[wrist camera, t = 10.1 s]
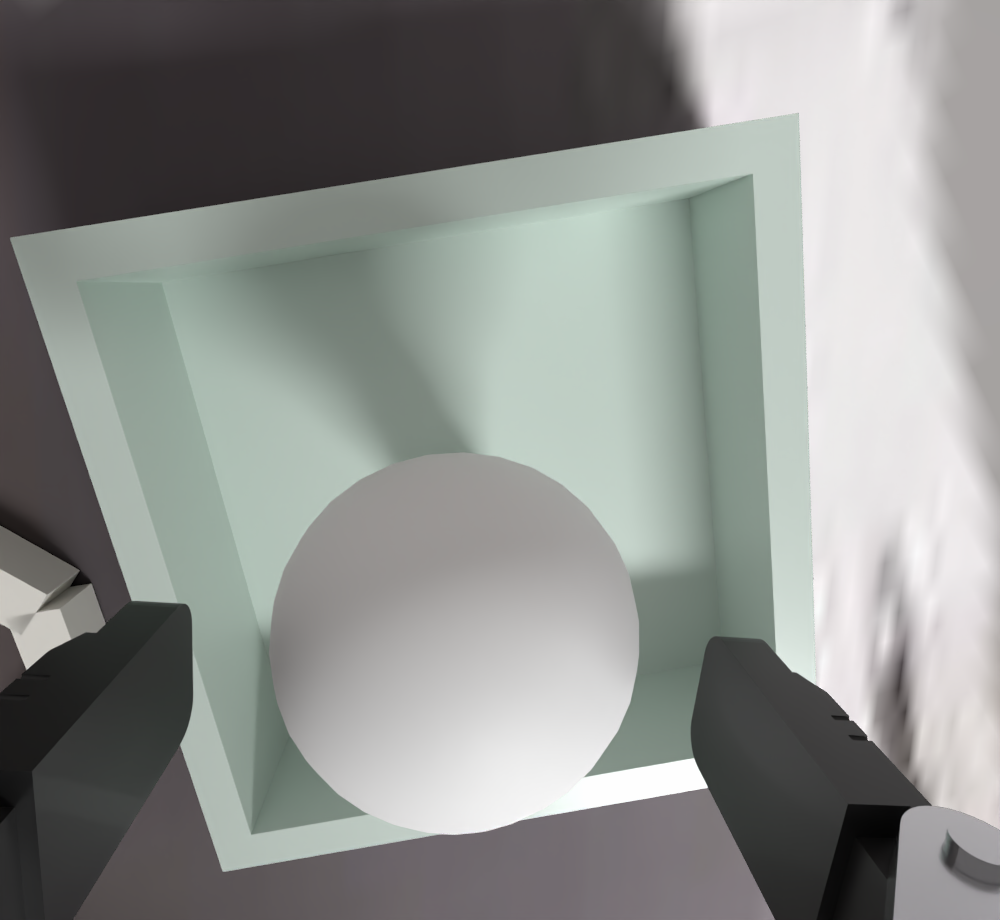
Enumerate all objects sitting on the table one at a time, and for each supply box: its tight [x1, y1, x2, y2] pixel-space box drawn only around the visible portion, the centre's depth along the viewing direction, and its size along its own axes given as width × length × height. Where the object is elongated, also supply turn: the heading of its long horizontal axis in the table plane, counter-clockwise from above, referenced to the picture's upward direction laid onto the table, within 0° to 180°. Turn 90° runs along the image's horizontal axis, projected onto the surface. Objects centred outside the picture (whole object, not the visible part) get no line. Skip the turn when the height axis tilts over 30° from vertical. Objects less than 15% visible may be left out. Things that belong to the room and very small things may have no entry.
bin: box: [10, 113, 816, 872], centre depth 17 cm, size 16×16×4 cm
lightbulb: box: [269, 452, 639, 835], centre depth 14 cm, size 6×6×11 cm
